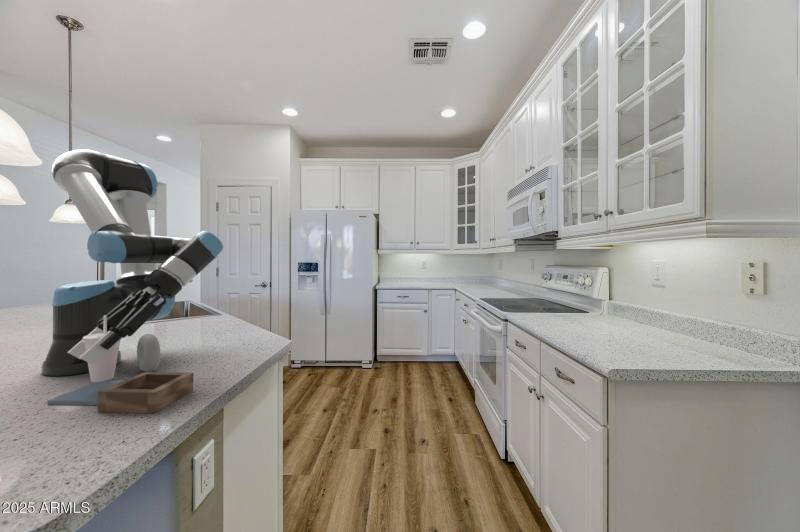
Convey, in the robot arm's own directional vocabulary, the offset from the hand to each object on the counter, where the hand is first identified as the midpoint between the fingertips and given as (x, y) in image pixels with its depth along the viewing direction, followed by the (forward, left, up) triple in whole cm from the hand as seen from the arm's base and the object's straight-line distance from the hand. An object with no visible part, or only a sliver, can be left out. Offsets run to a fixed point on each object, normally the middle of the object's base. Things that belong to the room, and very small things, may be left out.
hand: (80, 358), depth 64 cm
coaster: (-3, +1, -9) cm, 9 cm away
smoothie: (-3, +2, -6) cm, 7 cm away
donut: (-17, 0, -9) cm, 19 cm away
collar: (0, +14, -9) cm, 17 cm away
